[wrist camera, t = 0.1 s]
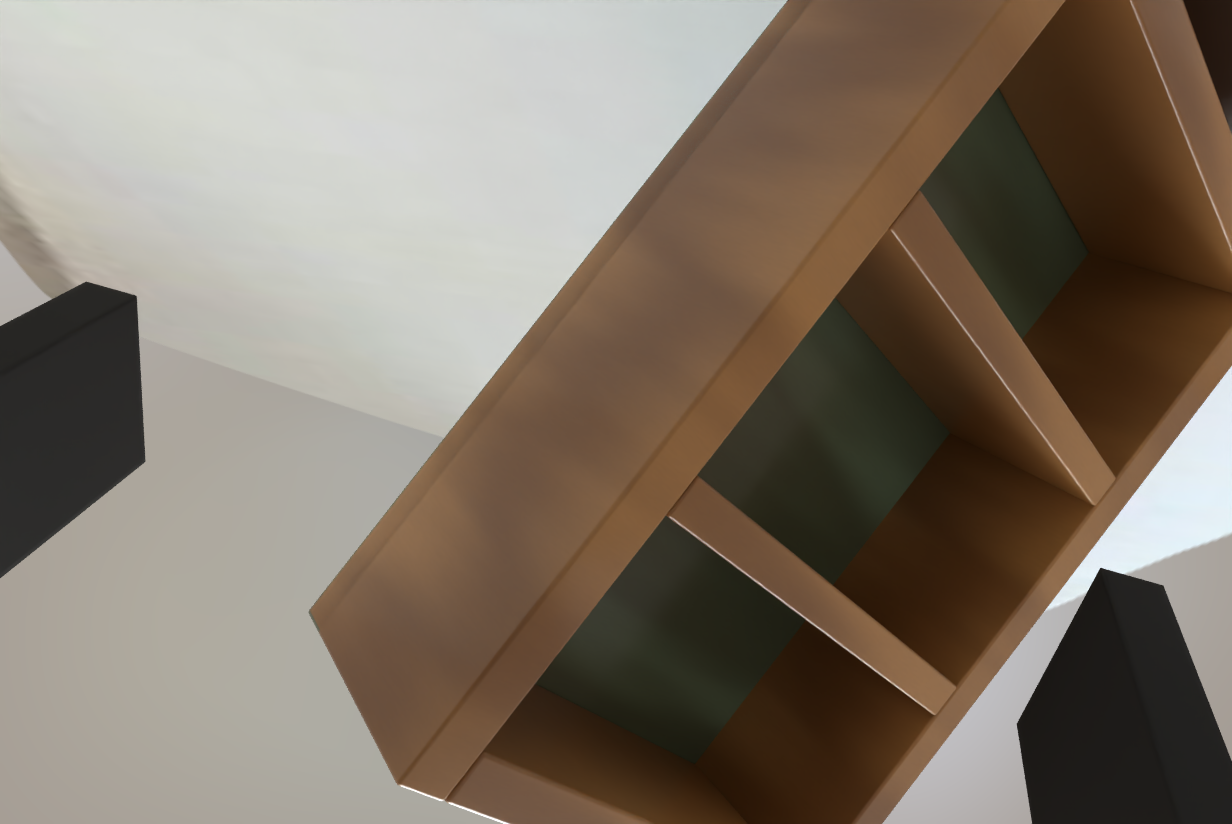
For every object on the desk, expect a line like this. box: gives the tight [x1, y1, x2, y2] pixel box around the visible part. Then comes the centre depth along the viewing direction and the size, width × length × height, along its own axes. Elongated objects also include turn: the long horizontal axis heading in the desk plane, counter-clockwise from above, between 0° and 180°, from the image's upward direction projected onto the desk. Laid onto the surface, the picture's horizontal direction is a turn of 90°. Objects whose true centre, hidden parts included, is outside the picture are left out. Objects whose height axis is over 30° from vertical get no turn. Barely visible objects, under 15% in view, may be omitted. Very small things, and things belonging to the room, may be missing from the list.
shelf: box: [309, 0, 1232, 824], centre depth 21 cm, size 5×12×18 cm
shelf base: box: [1183, 0, 1232, 134], centre depth 22 cm, size 12×15×1 cm
